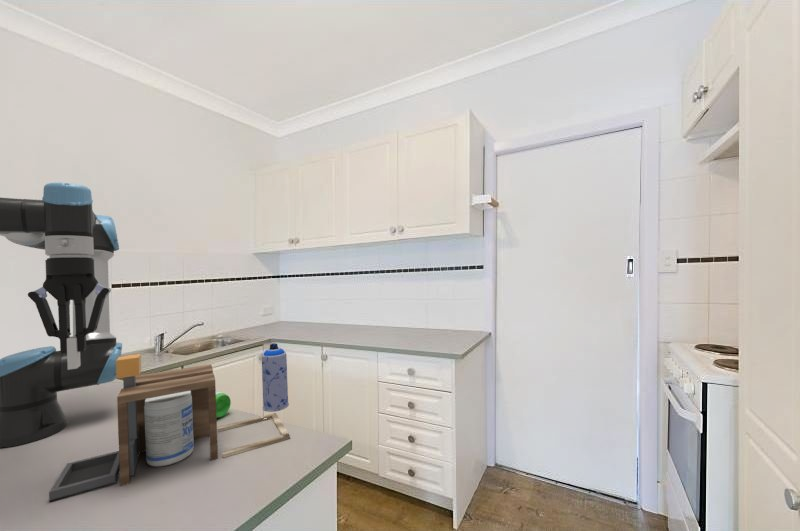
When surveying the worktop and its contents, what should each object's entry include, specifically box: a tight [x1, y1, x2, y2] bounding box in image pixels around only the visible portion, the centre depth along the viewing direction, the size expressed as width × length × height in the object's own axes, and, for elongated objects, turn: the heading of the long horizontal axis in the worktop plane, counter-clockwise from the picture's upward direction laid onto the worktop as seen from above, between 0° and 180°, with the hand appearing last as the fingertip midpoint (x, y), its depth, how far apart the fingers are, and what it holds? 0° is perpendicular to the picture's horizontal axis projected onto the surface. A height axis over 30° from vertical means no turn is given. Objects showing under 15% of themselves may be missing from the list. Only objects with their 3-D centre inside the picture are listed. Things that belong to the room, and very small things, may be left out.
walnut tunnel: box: [116, 364, 219, 487], centre depth 83 cm, size 16×18×18 cm
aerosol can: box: [261, 343, 290, 413], centre depth 111 cm, size 8×8×20 cm
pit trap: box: [48, 450, 120, 503], centre depth 75 cm, size 12×10×2 cm
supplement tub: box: [144, 391, 195, 467], centre depth 83 cm, size 10×10×15 cm
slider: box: [116, 353, 142, 476], centre depth 80 cm, size 12×4×24 cm, turn 32°
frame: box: [217, 412, 291, 459], centre depth 93 cm, size 17×16×1 cm
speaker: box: [216, 391, 232, 419], centre depth 107 cm, size 18×7×8 cm, turn 67°
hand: (74, 367), depth 74 cm, fingers closed
